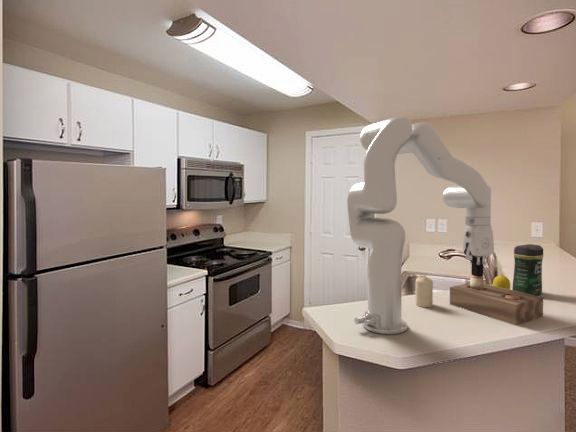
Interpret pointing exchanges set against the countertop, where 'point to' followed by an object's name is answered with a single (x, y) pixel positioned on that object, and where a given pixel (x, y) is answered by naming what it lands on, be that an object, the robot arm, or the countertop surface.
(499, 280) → the lemon
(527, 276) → the coffee jar
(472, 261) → the robot arm
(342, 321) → the countertop surface
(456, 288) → the block
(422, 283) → the candle
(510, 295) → the peg near
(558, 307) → the countertop surface
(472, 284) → the peg far
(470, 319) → the countertop surface
